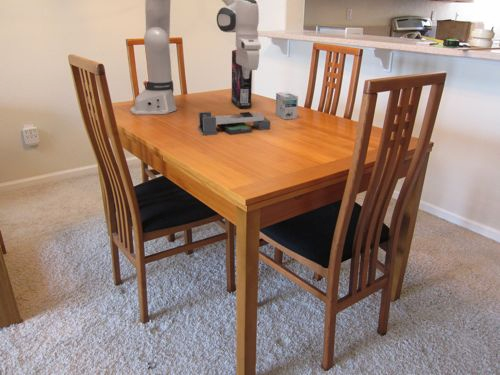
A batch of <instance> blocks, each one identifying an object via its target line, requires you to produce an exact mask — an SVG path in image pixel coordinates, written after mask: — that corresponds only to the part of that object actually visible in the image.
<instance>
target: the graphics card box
mask: <svg viewBox="0 0 500 375" xmlns="http://www.w3.org/2000/svg"><path fill="white" fill-rule="evenodd" d="M252 83H253V70H250V74H249V79H245V78H244V77H243V71H242V66H241V65H239V64H237V63H236V49H233V50H231V103H233V105H235V106H236V107H238V108H239V109H251V108H252V91H253V90H252V87H253V86H252V85H253V84H252Z"/></svg>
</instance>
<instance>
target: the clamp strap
mask: <svg viewBox="0 0 500 375" xmlns="http://www.w3.org/2000/svg"><path fill="white" fill-rule="evenodd" d="M212 116H213V115H211V116H209V117H212ZM214 116H215V117H216V125H217V124H228V123H240V122H244V123H248V122H249V123H251V122H252V123H253V121H264V117H265V115H264V114H262V113H261V112H249V111H245V112H239V113H238V114H237V113H236V114H226V115H225V114H223V115H214Z"/></svg>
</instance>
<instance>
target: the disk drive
mask: <svg viewBox="0 0 500 375" xmlns="http://www.w3.org/2000/svg"><path fill="white" fill-rule="evenodd" d="M216 127H218V128H219V129H220V130H222V131H223V132H225V133H226V134H227V135H229V136H232V135H233V136H234V135H242V134H243V135H244V134H249V133H252V132H253V128H252V127H251V126H250V125H249V124H247V123H246V122H240V123H228V124H216Z"/></svg>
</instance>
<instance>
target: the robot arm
mask: <svg viewBox="0 0 500 375" xmlns="http://www.w3.org/2000/svg"><path fill="white" fill-rule="evenodd" d="M221 1H222V2H223V3H224V5H226V6H224V7H220V9H219V10H218V12H217V15H216V24H217V26H218V29H219V30H220V31H222V32H224V33H235V48H236V49H235V50H236V63H237V64H239V65H241V66H242V71H243V77H244V78H245V79H249V74H250V70H252V71H257V70H258V68H259V65H260V64H259V63H260V50H261V49H262V47H261V46H262V45H261V42H260V41H259V31H258V27H259V22H260V21H259V20H260V19H259V18H260V16H259V15H260V13H259V12H260V11H259V5H258V2H257V1H256V0H221ZM144 2H145V3H144V4H145V6H144V7H145V9H144V10H145V11H144V12H145V33H144V36H143V42H144V50H145V58H146V64H147V76H148V78H147V79H148V81H146V80H144V81H143V86H144V89H143V91H142V92H140V93H139V94H138V95H137V96H136V97H135V100H134V105H133V106H132V107H131V108H130V113H131V114H133V115H168V114H169V113H172V112H175V111H177V110H178V108H177V104H176V102H175V96H174V91H175V90H174V82H173V80H172V78H173V77H172V62H171V61H172V60H171V49H170V36H171V35H170V34H171V32H170V31H171V0H145V1H144Z"/></svg>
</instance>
